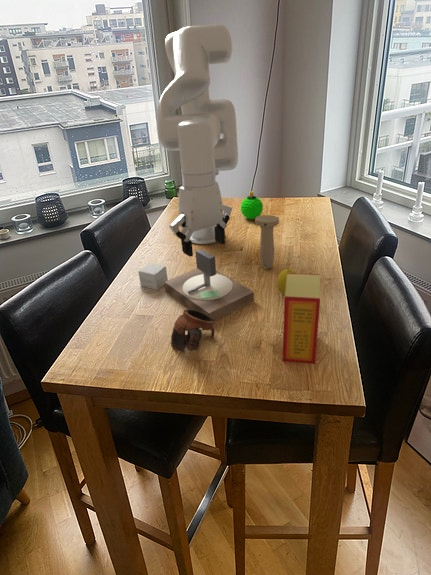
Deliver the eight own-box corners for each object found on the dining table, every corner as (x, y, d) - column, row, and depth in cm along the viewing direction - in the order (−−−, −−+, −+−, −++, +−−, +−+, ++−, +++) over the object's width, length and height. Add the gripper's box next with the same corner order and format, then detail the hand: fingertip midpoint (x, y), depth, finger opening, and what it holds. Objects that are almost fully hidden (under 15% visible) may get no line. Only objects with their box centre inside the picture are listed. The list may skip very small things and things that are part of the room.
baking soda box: (285, 333, 95) (287, 271, 87) (314, 335, 94) (319, 272, 86) (282, 361, 87) (284, 295, 79) (314, 363, 86) (320, 297, 78)
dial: (173, 286, 110) (172, 284, 110) (212, 269, 117) (212, 268, 117) (202, 306, 101) (202, 304, 101) (243, 287, 108) (243, 285, 108)
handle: (276, 272, 119) (277, 222, 112) (254, 270, 121) (253, 221, 114) (279, 264, 123) (280, 216, 116) (257, 262, 125) (257, 214, 117)
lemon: (285, 304, 105) (286, 276, 101) (272, 294, 109) (272, 267, 105) (303, 298, 107) (304, 270, 103) (289, 288, 112) (290, 261, 107)
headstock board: (165, 291, 114) (164, 281, 113) (207, 273, 121) (206, 264, 120) (210, 323, 100) (209, 313, 99) (254, 301, 107) (253, 291, 106)
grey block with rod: (181, 288, 108) (178, 257, 103) (203, 279, 111) (200, 248, 107) (195, 298, 104) (192, 265, 99) (217, 288, 107) (214, 256, 102)
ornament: (257, 224, 150) (256, 196, 145) (237, 220, 154) (236, 194, 149) (266, 216, 156) (266, 189, 151) (246, 213, 160) (246, 187, 154)
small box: (168, 280, 119) (166, 265, 117) (157, 290, 115) (154, 275, 112) (152, 276, 122) (149, 261, 119) (140, 286, 117) (137, 271, 115)
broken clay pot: (165, 336, 98) (177, 303, 96) (203, 346, 101) (214, 314, 99) (171, 357, 87) (184, 321, 85) (213, 368, 89) (226, 332, 88)
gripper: (219, 168, 101) (222, 234, 110) (157, 184, 93) (166, 254, 101) (239, 173, 96) (241, 242, 105) (175, 191, 87) (183, 264, 96)
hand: (204, 248), depth 103 cm, fingers open, 9 cm apart
